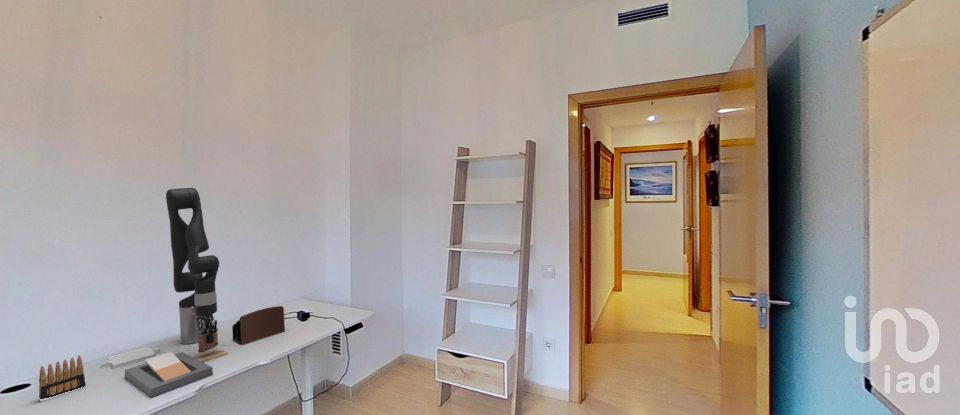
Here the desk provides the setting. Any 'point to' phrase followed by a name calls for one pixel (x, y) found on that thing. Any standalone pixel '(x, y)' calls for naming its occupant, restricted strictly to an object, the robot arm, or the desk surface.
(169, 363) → the two-tone tile
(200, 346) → the lighter
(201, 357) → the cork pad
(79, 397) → the desk surface
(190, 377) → the gray rectangular recessed tray
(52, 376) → the ammunition clip
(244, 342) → the letter holder
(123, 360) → the mounting plate
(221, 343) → the desk surface
